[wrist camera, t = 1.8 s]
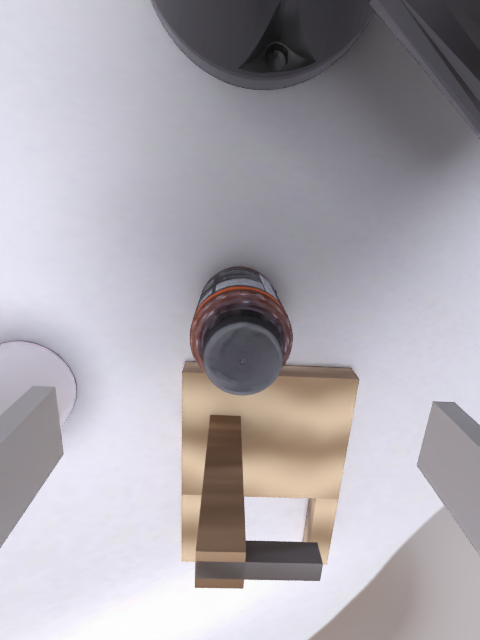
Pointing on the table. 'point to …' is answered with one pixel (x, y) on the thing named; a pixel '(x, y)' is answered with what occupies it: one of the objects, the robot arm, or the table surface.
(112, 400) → the table surface
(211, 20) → the robot arm
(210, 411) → the oak forked base
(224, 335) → the supplement bottle
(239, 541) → the hook post
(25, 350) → the candle holder
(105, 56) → the table surface
